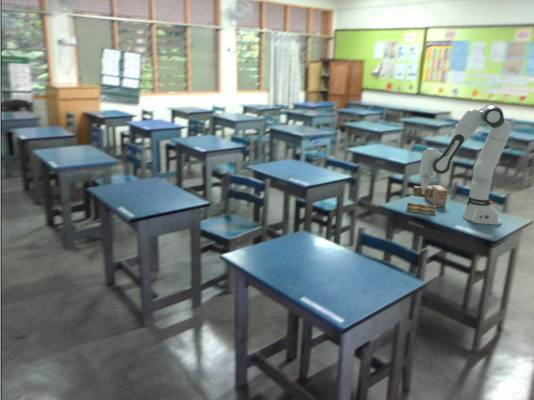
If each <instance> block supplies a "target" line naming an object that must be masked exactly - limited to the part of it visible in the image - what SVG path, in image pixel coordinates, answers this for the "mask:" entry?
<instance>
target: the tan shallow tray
mask: <svg viewBox="0 0 534 400" xmlns="http://www.w3.org/2000/svg"><path fill="white" fill-rule="evenodd" d="M436 208H437V207H436V206H435V205H433V204H431V205H430V204H423V203H416V202H407V206H406V212H412V213H419V214H427V215H433V216H435V215H436Z"/></svg>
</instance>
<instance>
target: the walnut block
mask: <svg viewBox="0 0 534 400" xmlns="http://www.w3.org/2000/svg"><path fill="white" fill-rule="evenodd" d="M433 191H434V189H433V188H431V187H427V190H425V193H424V194H422V189H421V185H420V186H418V185H413V189H412V196H413V197H418V198H424V197H427V198H432V197H433Z"/></svg>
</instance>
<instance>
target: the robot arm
mask: <svg viewBox="0 0 534 400" xmlns="http://www.w3.org/2000/svg"><path fill="white" fill-rule="evenodd" d="M504 117H505V115H504V112H503V110H502V108H501V107H500V106H498V105H496V104H488V105H486V106H484V107H481V108H480V109H479V110H478V109H475V108H470V109H468V110H467V111H466V112H465V114H463V116H462V117H461V118H460V120H459V121H457V124H456V126H455V128H454V129H453V132H452V137H451V140H450V141H449V143H448V145H447V147H446V148H445V150H444V151H443V153H442V152H441V151H439V150H438V149H437V148H435V147H427V148H425V149H424V150H423V151H422V153H421V154H422V155H421V158H420V166H419V172H418V175H419V176H420V179H421V185H420V186H421V189H422V194H424V193H425V190H427V186H429V179H432V178H433V177H434V172H435V173H437V174H440V175H442V174H443V175H444V174H445V173H448V171H449V170H450V167H451V165H452V164H451V163H452V160H453V158H454V157H455V155H456V154H457V152H458V151H459V149H460V148H461V147H462V146H463V145H464V144H465V143H467V141H468V140H469V139H470V138H471V137H472V136H473V135H474V133H475V131H477V129H478V128H479V126H480V125H482V124H483V123H485V124H486V125H488V126H489V127H490V131H489V133H488V134H487V136H486V139H485V141H484V143H483V145H482V146H483V147H482V148H481V151H480V153H479V154H478V157H477V160H476V161H475V164H474V165H473V170H472V171H473V175H472V180H471V182H470V183H471V184H470V190H469V195H468V196H467V199H466V207H465V211H464V212H463V215H462V218H463V219H465V220H467V221H470V222H472V223H475V224H483V225H484V224H485V225H493V226H494V225H496V226H499V225H501V224H502V220H501V219H500V218H499V212H498V211H497V209H495V208H494V207H493V203H494V202H493V201H492V200H491V199H490V198H489V196H490V192H491V186H492V182H493V176H494V171H495V168H496V167H497V165H498V163H499V160H500V158H501V155H502V153H503V151H504V148H505V147H506V145H507V143H508V140H509V137H510V135H511V131H512V128H513V127H512V123H511V122H509V121H507V120H505V118H504Z"/></svg>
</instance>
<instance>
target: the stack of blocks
mask: <svg viewBox="0 0 534 400" xmlns="http://www.w3.org/2000/svg"><path fill="white" fill-rule="evenodd" d="M427 187H431V188H433V189H434V191H433V197H432V198H427V197H423V198H424V199H425V200H426V201H428V202H429V203H431V205H432V206H436V207H435V208H445V207H446V204H447V197H448V192H449V190H447V188H445V187H444V186H442V185H440V184H439V185H438V184H437V185H436V184H435V185H428V186H427Z"/></svg>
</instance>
